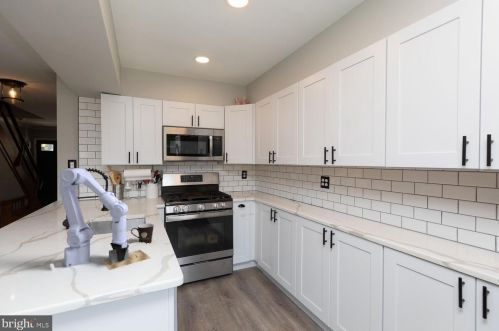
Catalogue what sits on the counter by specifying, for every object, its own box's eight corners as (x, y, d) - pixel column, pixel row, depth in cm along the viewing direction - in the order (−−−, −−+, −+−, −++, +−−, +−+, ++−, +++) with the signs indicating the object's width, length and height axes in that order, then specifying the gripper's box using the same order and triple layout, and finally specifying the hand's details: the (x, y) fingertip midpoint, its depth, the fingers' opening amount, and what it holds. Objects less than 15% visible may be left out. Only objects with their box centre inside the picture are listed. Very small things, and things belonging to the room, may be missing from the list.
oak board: (109, 272, 100) (109, 269, 100) (100, 262, 110) (100, 259, 110) (151, 260, 113) (151, 257, 113) (140, 252, 122) (140, 249, 122)
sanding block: (111, 264, 105) (111, 253, 105) (108, 261, 108) (108, 250, 108) (128, 260, 110) (128, 249, 110) (125, 257, 113) (125, 246, 113)
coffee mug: (156, 240, 140) (156, 224, 140) (146, 245, 132) (146, 228, 131) (140, 238, 143) (140, 222, 143) (129, 243, 135) (129, 226, 135)
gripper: (134, 231, 106) (134, 261, 107) (123, 225, 117) (123, 252, 117) (117, 234, 101) (117, 266, 102) (107, 227, 112) (107, 256, 112)
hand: (119, 259), depth 109 cm, fingers closed on sanding block, 4 cm apart
